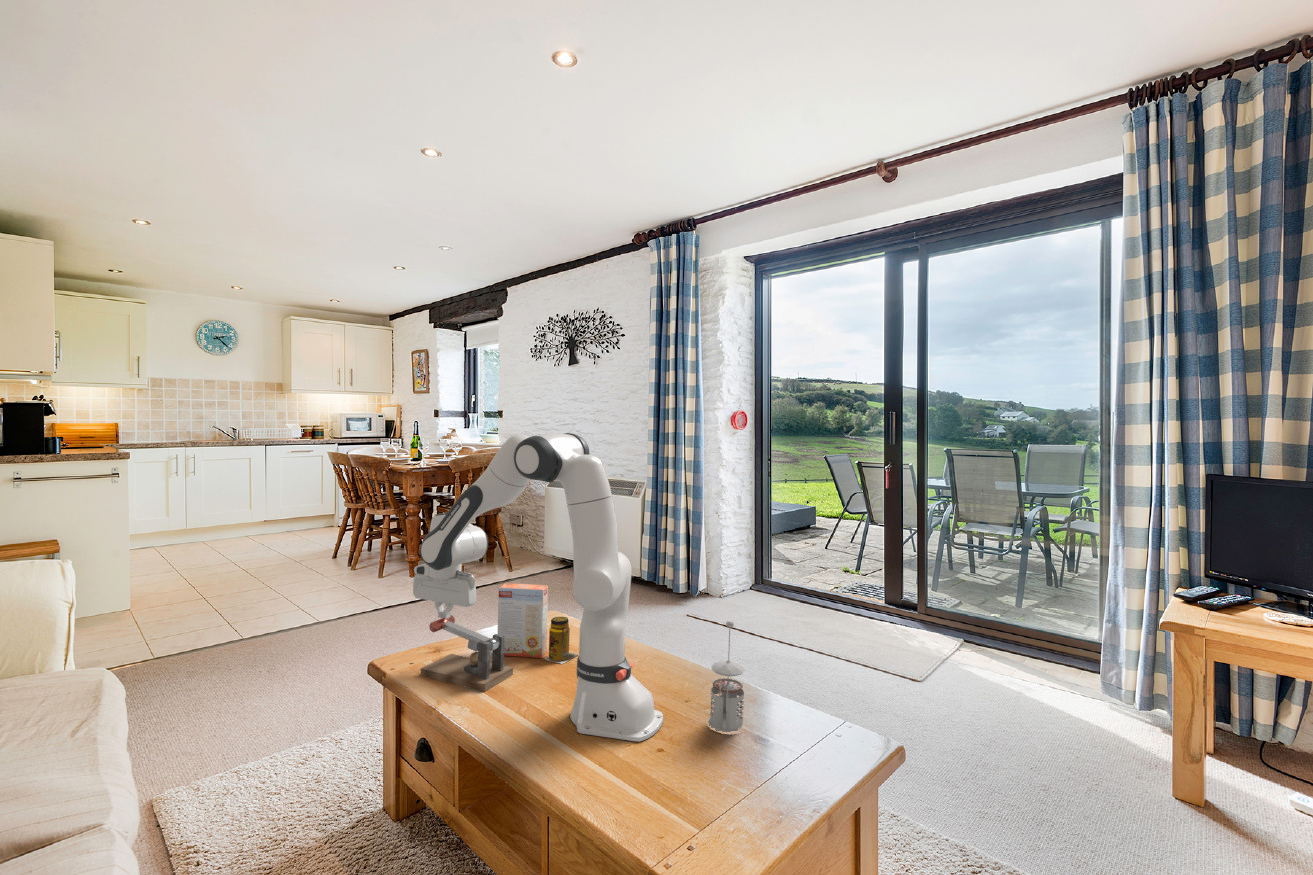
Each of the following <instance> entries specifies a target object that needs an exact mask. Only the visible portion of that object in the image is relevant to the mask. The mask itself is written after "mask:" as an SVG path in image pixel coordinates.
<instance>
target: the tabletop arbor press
mask: <svg viewBox="0 0 1313 875" xmlns="http://www.w3.org/2000/svg"><path fill="white" fill-rule="evenodd" d="M493 637H498V638H499V639H500V642H501V644H500V646H499V647H498V648H497V649H495V650H493V651H490V643H489V642H485V641H480V642H478V651H474V652H472V653H471V654H470V656H468V657H467V656H463V655H459V654H454V653H450V654H448V655H446V656H443V657H441V658H439V659H438V660H435V661H434V662H433V661H432V662H431V663H429V664H427V665H424V666H422V667H421V668H420V677H425V678H428V679H432V680H436V681H439V682H440V681H441V682H444V683H448V684H453V685H456V686H460V685H461V686H460V687H464V686H465V687H464V688H468V689H472V690H476V691H481V692H487V691H488V690H490V689H492V688H493V687H496V686H497V685H499V684H500V683H502V682H504V681H505V680H507V679H509V678H510V677H512V676H513V675H514V667H512V666H507V665H505V664H504V658H505V656H504V636H503V635H498V633H497V634H496V633H495V634H492V638H493ZM491 654H492V655H491Z"/></svg>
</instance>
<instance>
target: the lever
mask: <svg viewBox="0 0 1313 875" xmlns="http://www.w3.org/2000/svg"><path fill="white" fill-rule="evenodd" d="M455 622H456V619H455V617H454V615H451V614H450V618H447V619H445V618H440V619H437V620H434V621H432V622H430V623H429V626H428V627H429V631H430V632H432V633H437V632H439V631H441V630H444V631H446V632H449V633H451V634H453V635H455V636H458V637H460V638H462V639H465V640H467V641H468V642H467V646H466V647H467V649H469V650H471V651H474V652H478V642H480V641H485V642H489V643H490V652H492V651H493V650H495V649H497V648H498V647H499V646H500V644H501V642H500V639H499V638H498V637H493V636H492V637H491V638H490V637H488V636H486V635H483V634H481V633H478V632H476V631H475V630H472V629H469V628H468V627H467V628H466V627H464V626H462V625H459V624H457V623H455Z"/></svg>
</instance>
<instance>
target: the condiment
mask: <svg viewBox="0 0 1313 875" xmlns="http://www.w3.org/2000/svg"><path fill="white" fill-rule="evenodd" d="M569 624H570V623H569V618H568V617H565V616H555V617H552V618H551V619H550V627H549V630H548V631H549V636H548V640H549V641H548V643H549V644H548V656H546V657H545V658H543V660H544V661H547V662H548V661H549V662H551V663H557V664H560V665H563V664H565V663H567V662H569V661H570V660H572V659H573V658H577V656H579V653H573V652H570V631H571V629H570V627H569Z"/></svg>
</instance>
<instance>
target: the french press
mask: <svg viewBox="0 0 1313 875" xmlns="http://www.w3.org/2000/svg"><path fill="white" fill-rule="evenodd" d="M725 626H726V627H728V628H729V629H728V631H729V632H728V651H730V649H731V648H730V647H731V645H730V644H731V628H733V627H734V626H735V623H734V622H733V621H732V620H727V621H726V622H725ZM727 656H728V658H727V659H721V660H718V661H716V662H714V663H713V664H711V670H712V671H713V672H714V673H715V674H717V675H719V676H723V677H724V676H725V677H727V678H725V677H724V678H718V679H716V680H714V681H713V682H712V687H711V688H710V689H711V690H710V695H711V696H710V715H709V717H708V719H707V720H709V721H708V723H709V726H711V728H715V730H716V731H722V732H731V731H738V730H739V729H740V728H743V727H742V726H744V725H743V721H744V717H743V716H744V711H743V710H744V708H745V707H744V706H743V705H745V701H744V699H745V692H744V690H743V683H741V682H740V681H738V680H737V679H733V678H729V677H738V676H740V675H743V673H745V671H746V667H745V666H744V665H743V664H741V663H740V662H738V661H737V660H732V659H730V652H728V655H727ZM739 703H740V704H739ZM738 728H739V729H738Z"/></svg>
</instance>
